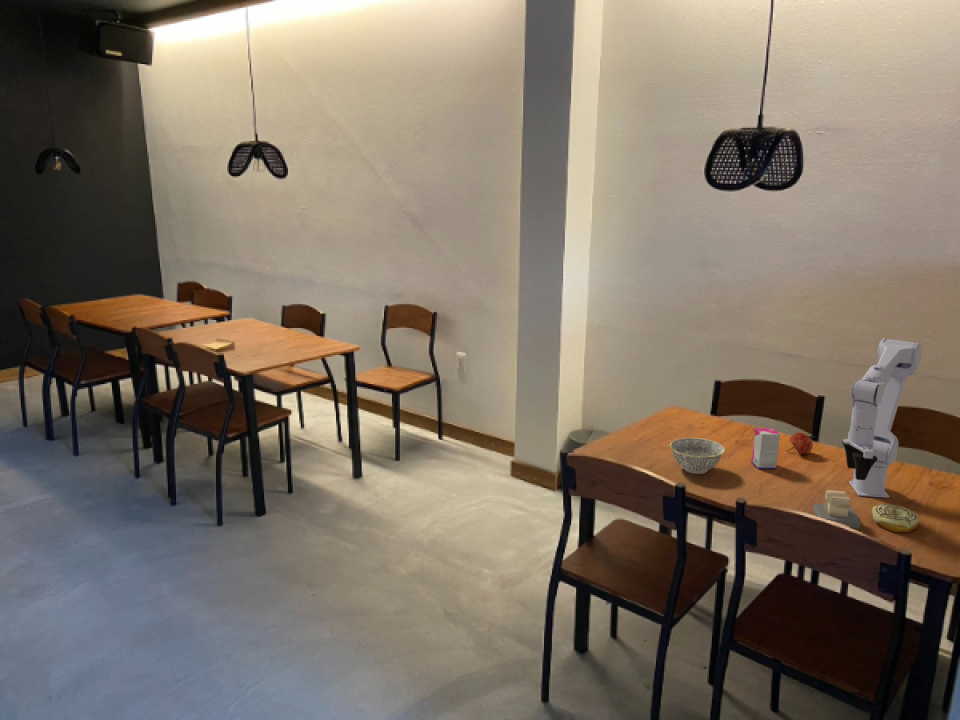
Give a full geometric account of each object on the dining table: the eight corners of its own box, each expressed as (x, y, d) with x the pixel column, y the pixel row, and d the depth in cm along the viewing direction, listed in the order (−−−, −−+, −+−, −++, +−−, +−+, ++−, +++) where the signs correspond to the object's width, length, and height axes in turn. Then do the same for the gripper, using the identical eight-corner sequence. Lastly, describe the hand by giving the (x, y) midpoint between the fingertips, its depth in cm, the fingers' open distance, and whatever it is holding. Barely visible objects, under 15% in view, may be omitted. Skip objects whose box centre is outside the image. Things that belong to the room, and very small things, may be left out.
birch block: (824, 507, 188) (826, 490, 186) (842, 509, 187) (844, 491, 186) (828, 515, 183) (831, 497, 182) (847, 516, 182) (850, 498, 181)
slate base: (813, 510, 191) (813, 503, 190) (849, 513, 189) (850, 506, 188) (821, 525, 182) (822, 518, 182) (859, 528, 180) (860, 521, 180)
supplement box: (777, 469, 217) (780, 434, 214) (757, 469, 217) (761, 434, 214) (769, 462, 223) (773, 427, 220) (750, 462, 223) (753, 427, 220)
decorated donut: (868, 527, 182) (870, 514, 181) (872, 511, 190) (874, 498, 189) (916, 538, 176) (918, 524, 175) (917, 521, 185) (920, 507, 184)
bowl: (662, 474, 214) (664, 450, 212) (675, 456, 228) (676, 434, 226) (717, 484, 207) (719, 460, 205) (726, 465, 221) (728, 442, 219)
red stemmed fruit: (790, 463, 228) (820, 449, 223) (777, 443, 229) (806, 429, 224) (793, 458, 234) (821, 444, 229) (780, 438, 235) (808, 424, 231)
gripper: (838, 415, 194) (832, 462, 197) (854, 434, 180) (847, 483, 183) (866, 417, 192) (860, 464, 196) (884, 435, 179) (877, 485, 182)
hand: (856, 473), depth 189 cm, fingers open, 7 cm apart
